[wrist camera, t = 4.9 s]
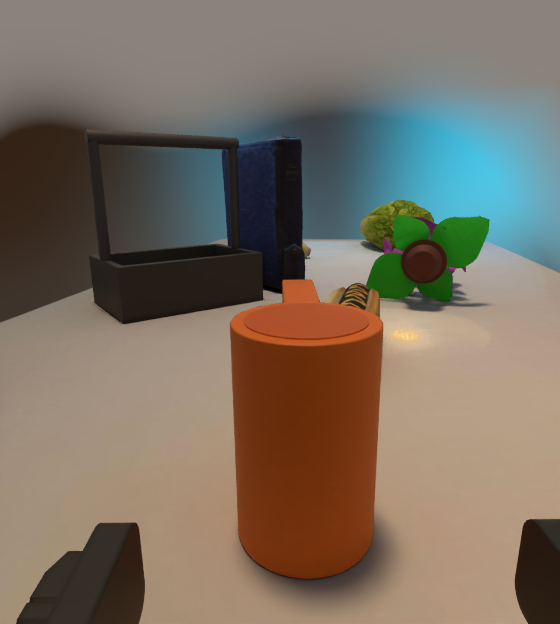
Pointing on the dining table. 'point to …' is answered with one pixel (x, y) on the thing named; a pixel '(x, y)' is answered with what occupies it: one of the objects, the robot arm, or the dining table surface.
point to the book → (270, 206)
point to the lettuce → (389, 221)
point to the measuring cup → (306, 431)
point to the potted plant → (426, 256)
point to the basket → (169, 249)
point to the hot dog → (357, 298)
